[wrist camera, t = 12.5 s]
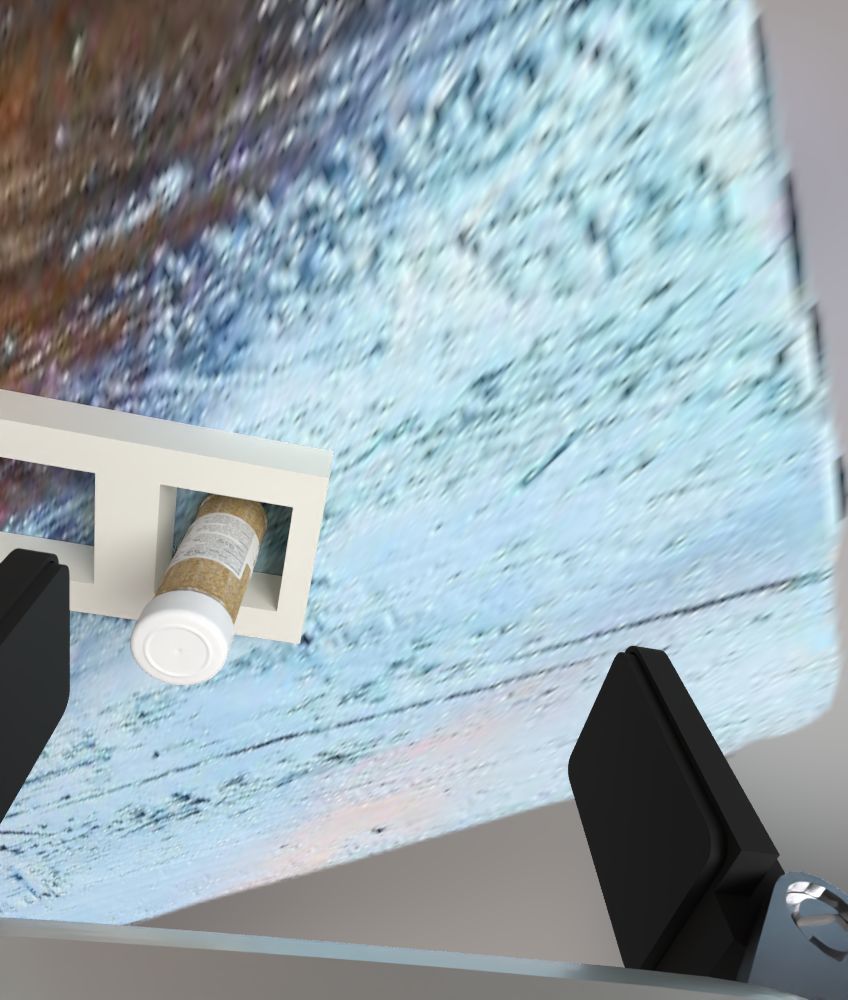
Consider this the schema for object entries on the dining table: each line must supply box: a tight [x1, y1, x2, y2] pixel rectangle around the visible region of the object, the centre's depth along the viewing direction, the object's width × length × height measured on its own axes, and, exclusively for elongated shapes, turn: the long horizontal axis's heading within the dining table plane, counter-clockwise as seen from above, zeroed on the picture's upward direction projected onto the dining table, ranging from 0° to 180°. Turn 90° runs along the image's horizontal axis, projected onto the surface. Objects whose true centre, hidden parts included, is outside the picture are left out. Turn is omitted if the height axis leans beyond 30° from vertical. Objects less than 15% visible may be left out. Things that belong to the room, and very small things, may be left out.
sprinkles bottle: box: [130, 493, 268, 685], centre depth 38 cm, size 5×5×13 cm
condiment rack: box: [0, 389, 334, 644], centre depth 41 cm, size 12×22×4 cm, turn 77°
